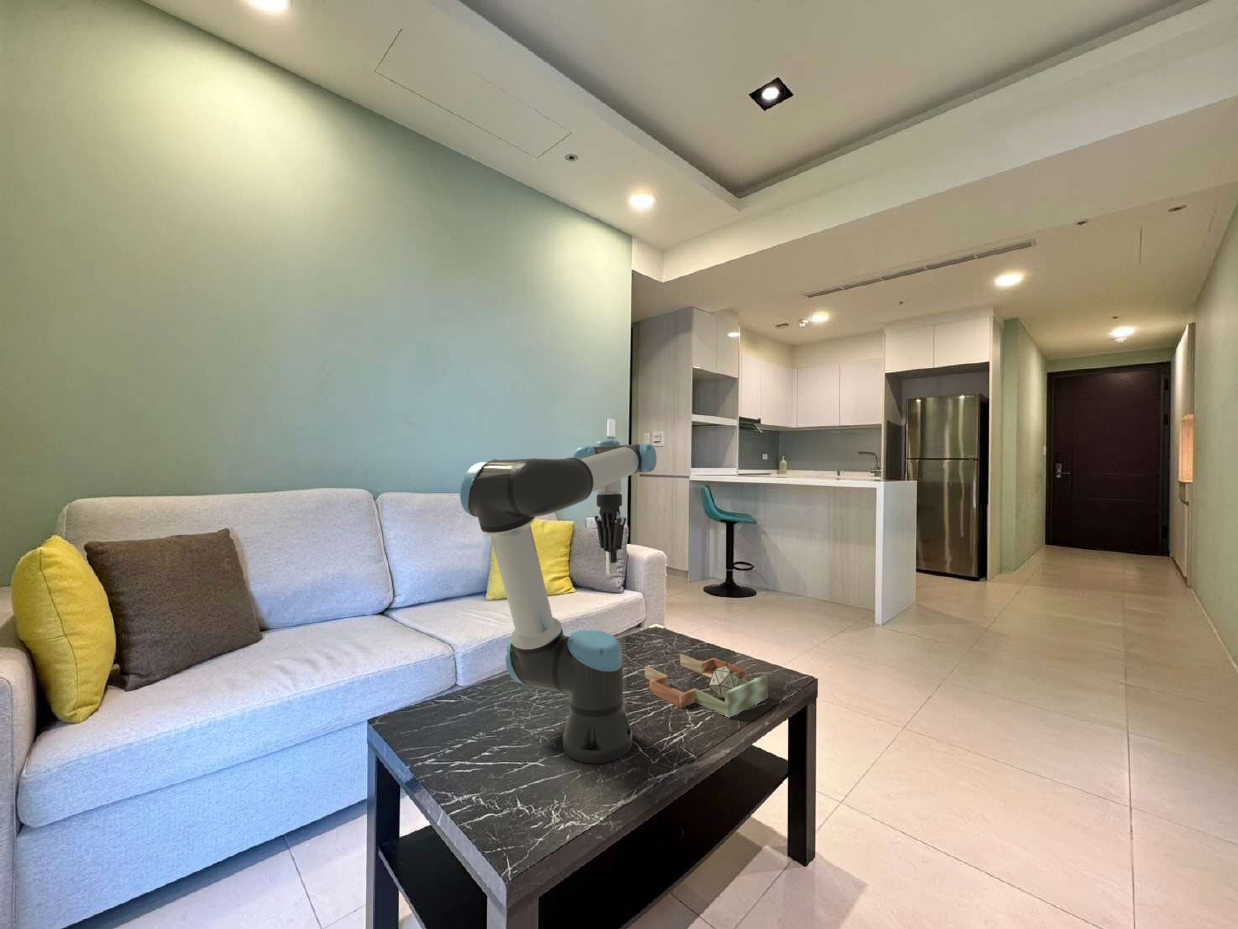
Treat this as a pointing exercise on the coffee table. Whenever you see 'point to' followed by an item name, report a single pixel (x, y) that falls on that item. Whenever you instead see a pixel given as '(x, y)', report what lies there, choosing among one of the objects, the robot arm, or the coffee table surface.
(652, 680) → the trap box
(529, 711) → the coffee table surface
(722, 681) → the game die
